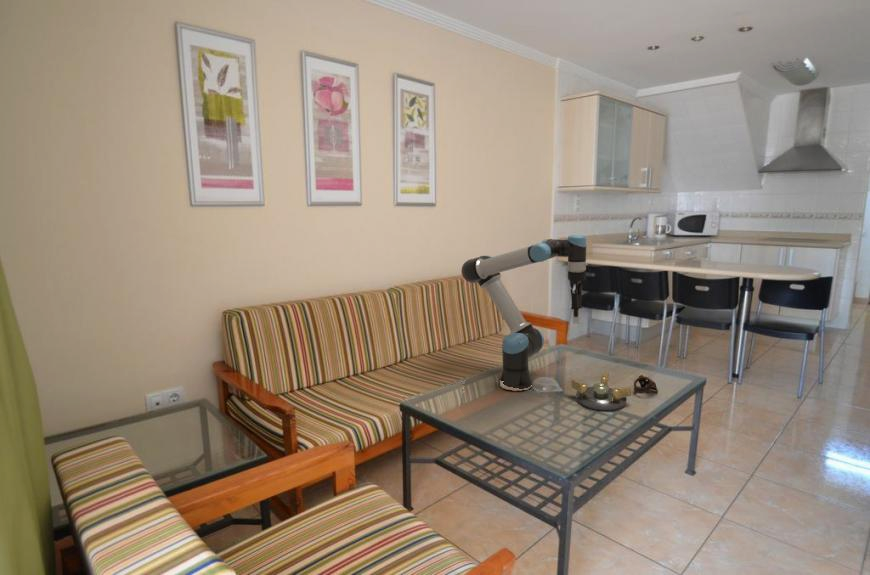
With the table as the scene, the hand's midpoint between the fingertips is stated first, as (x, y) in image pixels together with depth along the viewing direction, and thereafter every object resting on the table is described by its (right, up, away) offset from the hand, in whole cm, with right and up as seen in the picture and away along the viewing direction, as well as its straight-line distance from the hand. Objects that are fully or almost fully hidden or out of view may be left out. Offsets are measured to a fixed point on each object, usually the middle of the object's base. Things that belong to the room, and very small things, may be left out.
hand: (576, 323), depth 210 cm
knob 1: (-1, -29, -9) cm, 31 cm away
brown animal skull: (+28, -30, -5) cm, 41 cm away
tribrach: (+7, -32, -11) cm, 34 cm away
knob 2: (+12, -27, -2) cm, 30 cm away
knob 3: (+13, -30, -17) cm, 37 cm away
